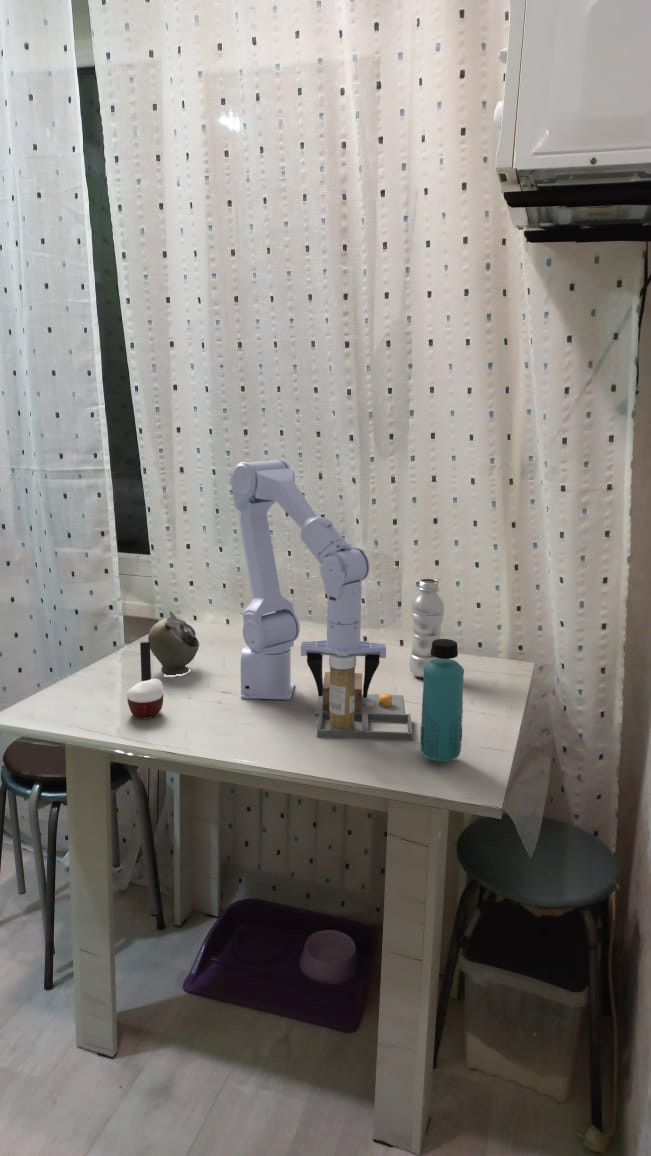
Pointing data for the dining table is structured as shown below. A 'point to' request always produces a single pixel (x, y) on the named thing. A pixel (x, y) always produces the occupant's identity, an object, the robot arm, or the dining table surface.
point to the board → (374, 704)
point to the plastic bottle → (425, 624)
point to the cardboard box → (357, 692)
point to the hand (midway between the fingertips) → (342, 694)
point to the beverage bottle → (442, 703)
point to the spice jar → (342, 691)
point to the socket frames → (365, 733)
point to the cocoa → (145, 689)
